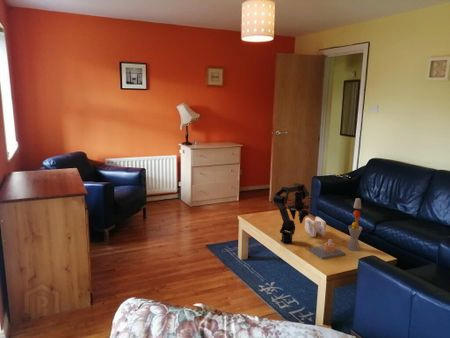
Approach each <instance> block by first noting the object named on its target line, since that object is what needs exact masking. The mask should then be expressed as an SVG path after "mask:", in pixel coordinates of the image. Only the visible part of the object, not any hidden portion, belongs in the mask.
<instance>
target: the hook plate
mask: <svg viewBox="0 0 450 338" xmlns="http://www.w3.org/2000/svg"><path fill="white" fill-rule="evenodd" d="M327 242H328V245H329V246H332V243H333V239H331V238H329V239H328V241H327ZM308 249H309V250H308V251H309V252H311V253H312V254H314V255H315V256H316V257H318V258H319V259H321V260H325V259H330V258H331V257H332V258H337V257H343V256H346V252H344V251H343V250H341V249H339V248H338V247H337V246H336V247H335V252H326V251H324V245H321V246H320V245H319V246H314V247H309V248H308Z"/></svg>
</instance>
